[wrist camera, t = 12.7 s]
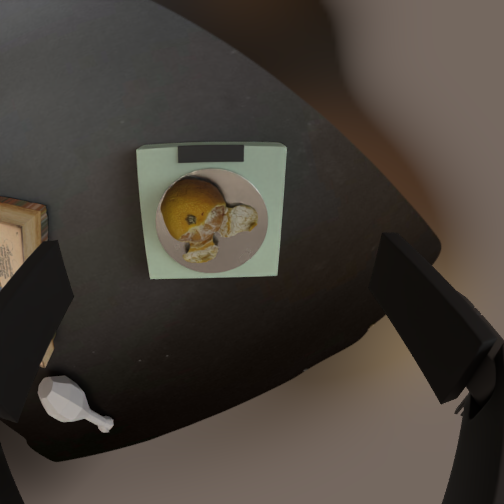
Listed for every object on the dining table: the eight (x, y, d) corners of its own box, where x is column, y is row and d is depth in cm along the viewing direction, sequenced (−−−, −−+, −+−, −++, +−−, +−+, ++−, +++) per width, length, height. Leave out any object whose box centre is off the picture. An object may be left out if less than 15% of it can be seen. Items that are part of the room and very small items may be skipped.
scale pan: (152, 169, 27) (150, 170, 26) (270, 167, 28) (271, 168, 27) (161, 271, 32) (161, 274, 31) (264, 268, 33) (265, 271, 33)
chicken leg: (91, 418, 51) (102, 450, 45) (29, 379, 39) (33, 416, 33) (119, 401, 53) (131, 433, 47) (58, 358, 41) (64, 395, 35)
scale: (142, 143, 28) (135, 148, 25) (280, 141, 30) (287, 146, 27) (154, 265, 35) (149, 280, 32) (272, 262, 36) (277, 277, 34)
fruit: (199, 268, 31) (198, 288, 28) (141, 212, 28) (133, 227, 25) (263, 219, 30) (269, 235, 26) (206, 154, 26) (205, 161, 23)
